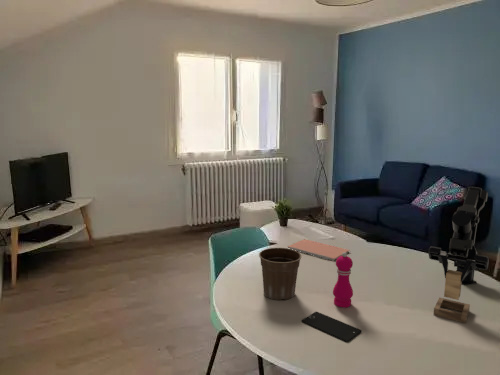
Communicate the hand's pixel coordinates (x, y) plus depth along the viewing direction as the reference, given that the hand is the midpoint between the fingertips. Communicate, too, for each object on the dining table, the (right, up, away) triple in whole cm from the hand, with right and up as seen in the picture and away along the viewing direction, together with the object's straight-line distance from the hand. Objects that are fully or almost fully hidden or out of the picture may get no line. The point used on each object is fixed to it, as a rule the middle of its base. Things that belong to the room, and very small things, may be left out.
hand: (453, 279), depth 138 cm
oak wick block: (+1, -6, +2) cm, 7 cm away
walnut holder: (+1, -13, +3) cm, 13 cm away
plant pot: (-58, -10, +19) cm, 62 cm away
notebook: (-36, -1, +67) cm, 76 cm away
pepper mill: (-36, -12, +10) cm, 39 cm away
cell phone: (-43, -15, -5) cm, 46 cm away
